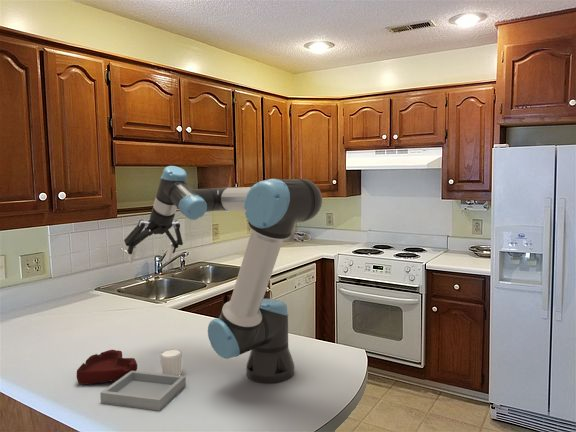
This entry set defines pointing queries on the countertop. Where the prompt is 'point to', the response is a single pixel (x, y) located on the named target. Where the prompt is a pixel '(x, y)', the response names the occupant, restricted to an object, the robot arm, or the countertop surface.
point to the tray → (143, 390)
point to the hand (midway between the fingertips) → (149, 260)
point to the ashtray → (105, 367)
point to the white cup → (171, 362)
